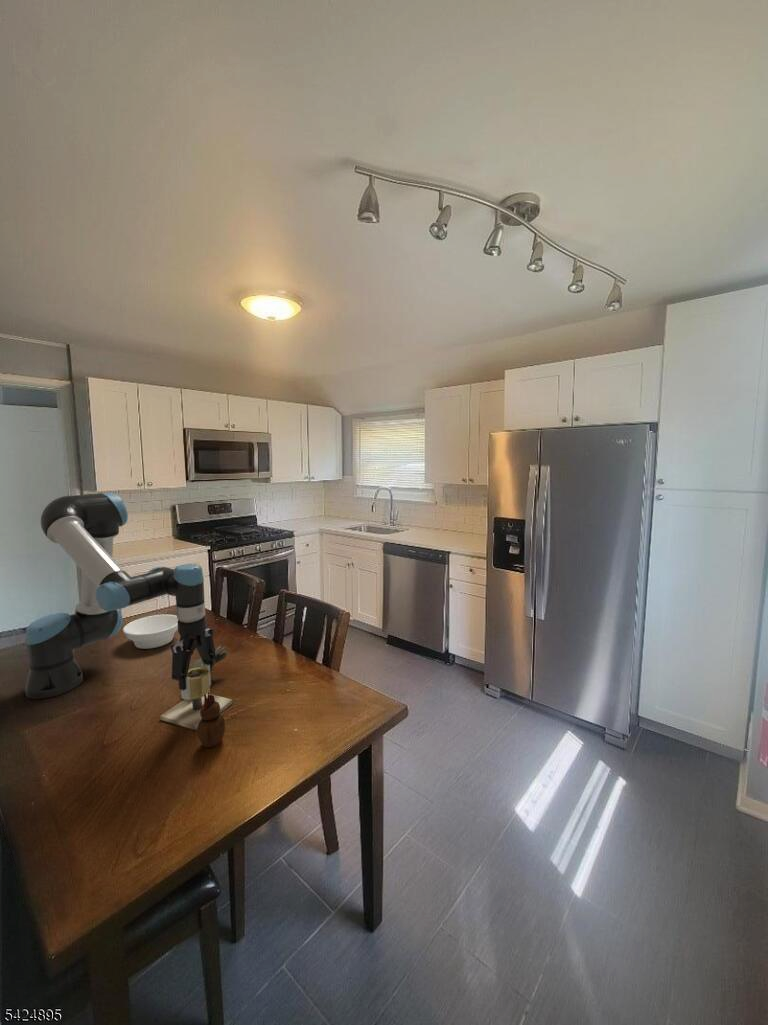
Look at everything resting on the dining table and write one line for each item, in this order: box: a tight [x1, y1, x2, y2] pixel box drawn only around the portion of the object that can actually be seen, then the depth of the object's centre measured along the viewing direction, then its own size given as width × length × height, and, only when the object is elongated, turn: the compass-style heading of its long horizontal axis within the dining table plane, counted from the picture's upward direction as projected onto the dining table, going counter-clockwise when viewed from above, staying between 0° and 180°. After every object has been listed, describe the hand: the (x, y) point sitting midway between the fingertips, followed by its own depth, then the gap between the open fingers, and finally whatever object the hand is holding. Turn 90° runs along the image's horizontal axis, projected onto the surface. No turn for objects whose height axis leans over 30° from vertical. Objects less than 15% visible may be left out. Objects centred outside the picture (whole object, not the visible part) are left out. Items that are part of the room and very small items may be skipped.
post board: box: [160, 672, 234, 731], centre depth 125 cm, size 14×14×12 cm
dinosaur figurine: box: [188, 643, 228, 684], centre depth 138 cm, size 22×8×11 cm, turn 167°
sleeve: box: [182, 667, 211, 700], centre depth 125 cm, size 7×7×6 cm
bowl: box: [122, 614, 178, 650], centre depth 172 cm, size 21×21×8 cm
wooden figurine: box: [196, 692, 226, 749], centre depth 111 cm, size 7×6×15 cm
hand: (196, 691), depth 125 cm, fingers closed on sleeve, 7 cm apart
